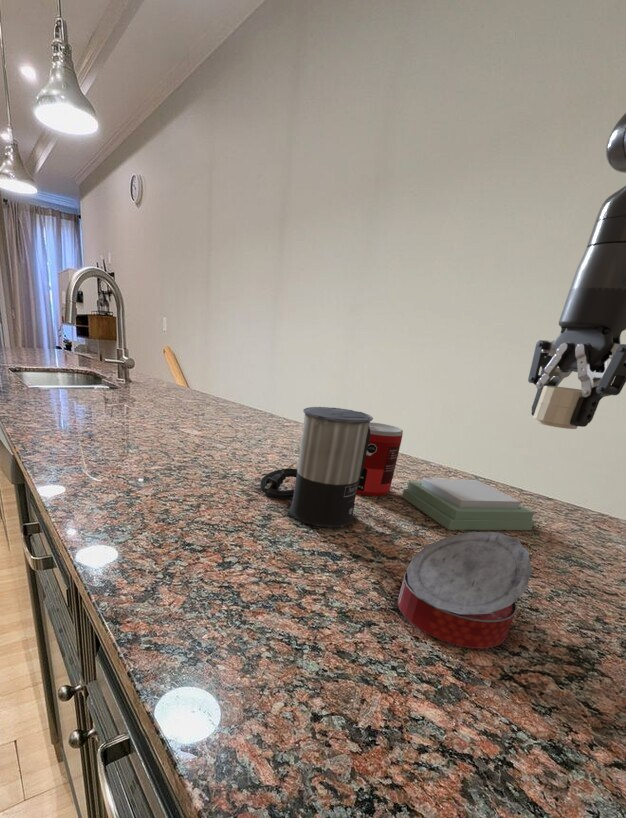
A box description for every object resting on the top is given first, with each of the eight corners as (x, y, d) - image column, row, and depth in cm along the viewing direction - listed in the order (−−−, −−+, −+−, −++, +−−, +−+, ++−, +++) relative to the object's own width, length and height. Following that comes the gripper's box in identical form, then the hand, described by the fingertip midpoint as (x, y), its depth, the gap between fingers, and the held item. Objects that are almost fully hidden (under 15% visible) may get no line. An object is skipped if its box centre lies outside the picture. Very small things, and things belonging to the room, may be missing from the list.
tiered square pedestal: (473, 488, 75) (476, 479, 75) (517, 511, 66) (521, 501, 66) (420, 486, 73) (422, 478, 73) (458, 510, 64) (461, 500, 64)
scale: (474, 499, 78) (479, 482, 77) (531, 530, 66) (538, 512, 65) (401, 497, 75) (405, 480, 74) (447, 530, 63) (453, 511, 62)
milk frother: (346, 535, 59) (369, 423, 53) (236, 509, 64) (246, 404, 58) (361, 502, 71) (381, 408, 65) (268, 483, 76) (278, 394, 70)
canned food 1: (336, 481, 80) (347, 420, 76) (378, 483, 81) (391, 423, 77) (350, 496, 73) (363, 430, 69) (396, 498, 74) (411, 433, 70)
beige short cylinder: (556, 421, 66) (568, 387, 65) (592, 431, 61) (607, 393, 59) (522, 419, 65) (533, 384, 63) (555, 428, 60) (569, 390, 58)
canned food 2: (491, 683, 42) (554, 639, 34) (383, 647, 43) (419, 597, 36) (490, 584, 48) (542, 528, 41) (396, 556, 50) (429, 498, 42)
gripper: (689, 289, 51) (627, 434, 57) (580, 295, 64) (539, 413, 70) (637, 280, 49) (579, 431, 56) (536, 288, 62) (498, 409, 69)
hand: (557, 420), depth 63 cm, fingers closed on beige short cylinder, 6 cm apart
